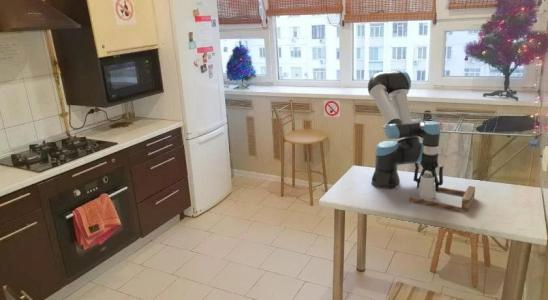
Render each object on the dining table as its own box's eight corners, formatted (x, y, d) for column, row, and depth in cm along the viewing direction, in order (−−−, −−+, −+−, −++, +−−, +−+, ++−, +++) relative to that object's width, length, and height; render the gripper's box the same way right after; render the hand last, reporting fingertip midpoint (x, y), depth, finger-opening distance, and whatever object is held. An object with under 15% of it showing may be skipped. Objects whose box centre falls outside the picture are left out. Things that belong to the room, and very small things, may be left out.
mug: (432, 201, 211) (434, 178, 207) (418, 199, 214) (420, 177, 210) (434, 193, 220) (435, 171, 216) (420, 191, 222) (422, 170, 218)
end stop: (460, 210, 201) (461, 198, 199) (466, 196, 214) (467, 185, 212) (468, 211, 199) (469, 200, 197) (474, 197, 212) (475, 186, 210)
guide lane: (409, 201, 212) (409, 198, 211) (420, 186, 228) (420, 183, 227) (460, 211, 199) (460, 207, 198) (468, 195, 215) (468, 191, 214)
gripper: (408, 152, 211) (405, 194, 218) (449, 158, 201) (445, 202, 208) (412, 148, 217) (409, 189, 224) (452, 153, 207) (448, 196, 214)
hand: (427, 195), depth 216 cm, fingers closed on mug, 6 cm apart
